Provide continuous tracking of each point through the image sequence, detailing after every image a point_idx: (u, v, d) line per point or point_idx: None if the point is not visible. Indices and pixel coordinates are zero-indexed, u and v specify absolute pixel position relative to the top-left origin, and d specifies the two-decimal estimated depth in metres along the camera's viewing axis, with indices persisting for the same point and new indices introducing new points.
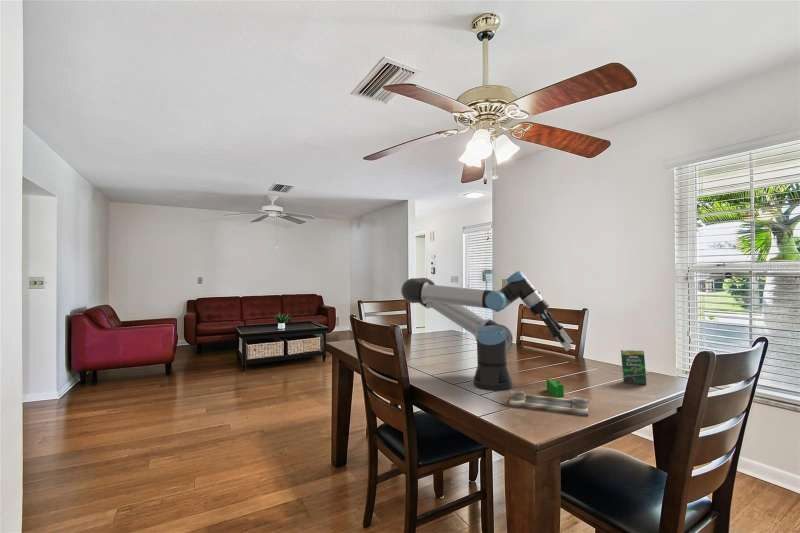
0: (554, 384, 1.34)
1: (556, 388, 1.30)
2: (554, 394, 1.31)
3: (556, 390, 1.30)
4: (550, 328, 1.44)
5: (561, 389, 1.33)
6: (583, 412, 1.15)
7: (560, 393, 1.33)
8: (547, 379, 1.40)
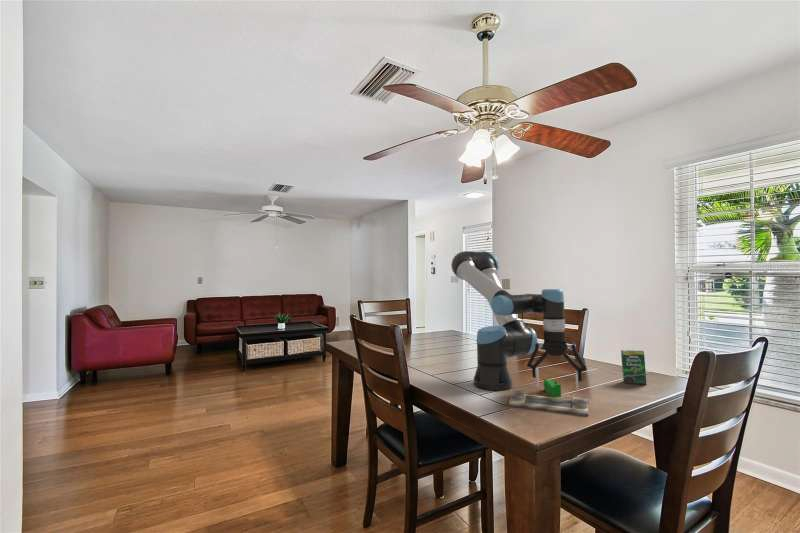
0: (551, 384, 1.34)
1: (553, 388, 1.30)
2: (551, 394, 1.32)
3: (553, 390, 1.30)
4: None
5: (558, 389, 1.33)
6: (583, 412, 1.15)
7: (557, 393, 1.33)
8: (544, 379, 1.40)
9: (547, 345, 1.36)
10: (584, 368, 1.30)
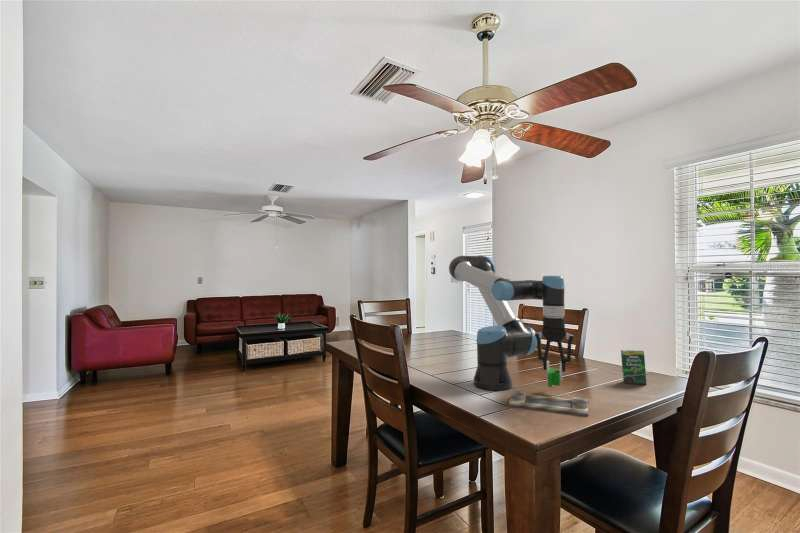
0: (550, 372, 1.34)
1: (549, 375, 1.32)
2: (548, 381, 1.33)
3: (549, 377, 1.31)
4: None
5: (557, 378, 1.33)
6: (583, 412, 1.15)
7: (556, 381, 1.33)
8: None
9: (545, 331, 1.37)
10: (568, 359, 1.33)
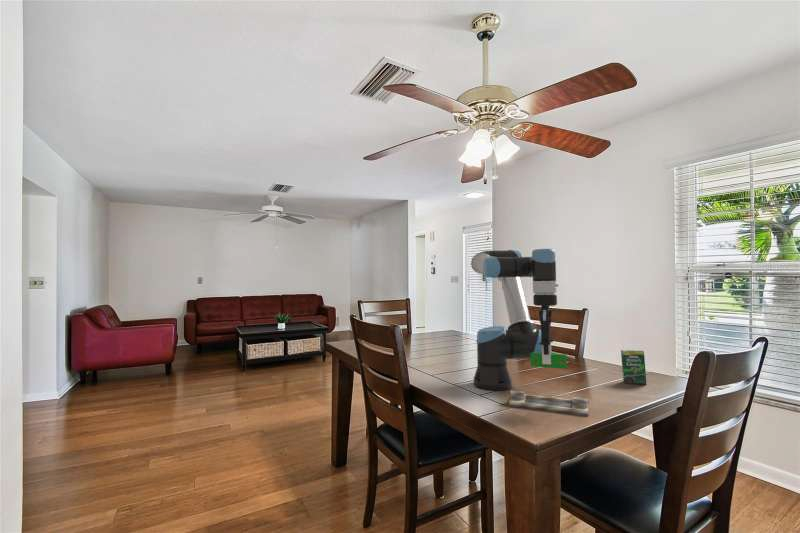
0: (555, 354, 1.22)
1: None
2: (562, 364, 1.21)
3: None
4: (543, 334, 1.20)
5: None
6: (583, 412, 1.15)
7: None
8: (534, 353, 1.24)
9: (548, 310, 1.22)
10: None
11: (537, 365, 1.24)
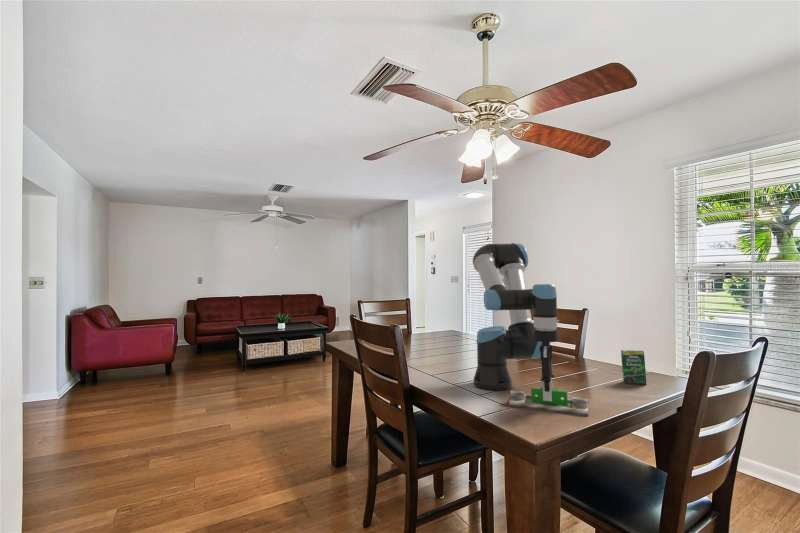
0: (556, 390, 1.22)
1: None
2: (563, 401, 1.20)
3: None
4: (543, 371, 1.19)
5: None
6: (583, 412, 1.15)
7: None
8: (535, 389, 1.24)
9: (549, 346, 1.22)
10: (551, 371, 1.28)
11: (538, 401, 1.23)
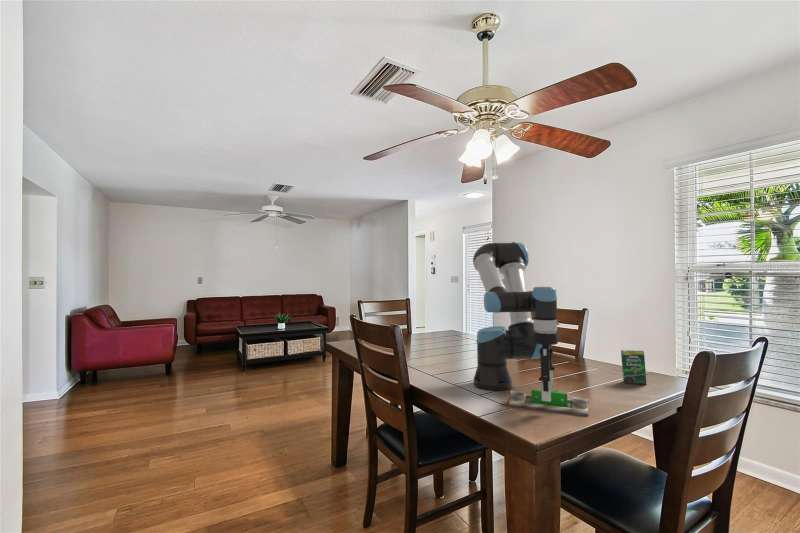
0: (556, 392, 1.21)
1: None
2: (563, 403, 1.20)
3: None
4: (543, 369, 1.16)
5: None
6: (583, 412, 1.15)
7: None
8: (535, 390, 1.24)
9: (549, 349, 1.22)
10: None
11: (538, 403, 1.23)
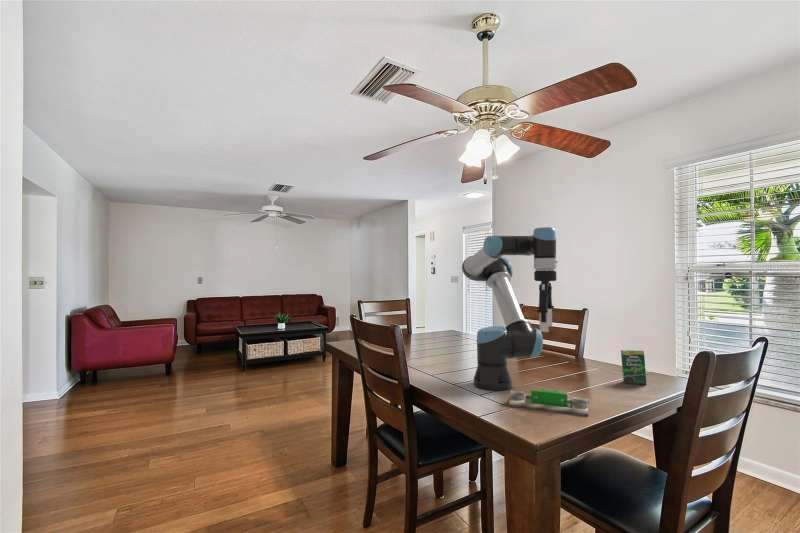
0: (556, 392, 1.21)
1: None
2: (563, 403, 1.20)
3: None
4: (541, 302, 1.25)
5: None
6: (583, 412, 1.15)
7: None
8: (535, 391, 1.23)
9: (547, 285, 1.30)
10: (551, 304, 1.40)
11: (538, 403, 1.23)
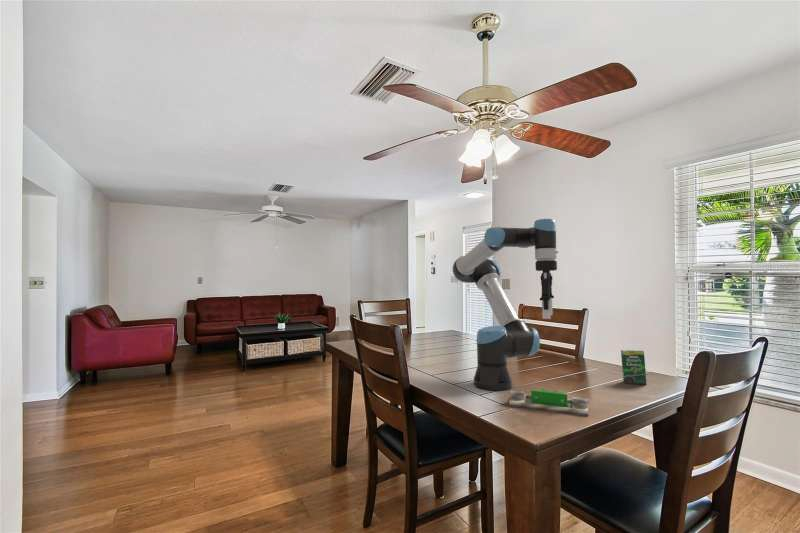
0: (556, 392, 1.21)
1: None
2: (563, 403, 1.19)
3: None
4: (543, 290, 1.29)
5: None
6: (583, 412, 1.15)
7: None
8: (535, 391, 1.23)
9: (549, 274, 1.34)
10: None
11: (538, 403, 1.23)
